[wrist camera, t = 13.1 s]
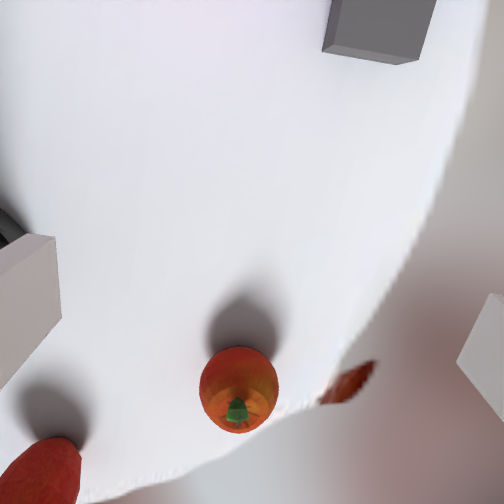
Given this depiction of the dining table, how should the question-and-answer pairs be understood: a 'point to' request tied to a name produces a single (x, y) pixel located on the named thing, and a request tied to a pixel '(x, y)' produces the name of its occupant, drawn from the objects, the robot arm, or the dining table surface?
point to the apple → (43, 474)
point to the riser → (378, 29)
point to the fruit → (238, 389)
